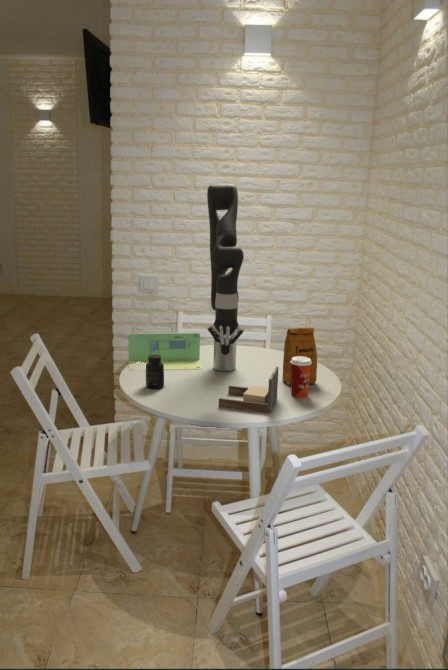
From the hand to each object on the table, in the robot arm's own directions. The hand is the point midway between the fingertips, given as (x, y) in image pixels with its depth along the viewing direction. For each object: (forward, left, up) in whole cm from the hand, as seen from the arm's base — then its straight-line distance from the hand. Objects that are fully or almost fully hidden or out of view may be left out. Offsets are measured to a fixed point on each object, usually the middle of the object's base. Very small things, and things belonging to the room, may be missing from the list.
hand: (225, 354), depth 207 cm
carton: (0, +12, -17) cm, 21 cm away
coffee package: (-27, +23, -17) cm, 39 cm away
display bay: (0, +9, -17) cm, 19 cm away
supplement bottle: (-5, -28, -17) cm, 33 cm away
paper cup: (-13, +25, -17) cm, 33 cm away
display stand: (-31, -34, -18) cm, 49 cm away
